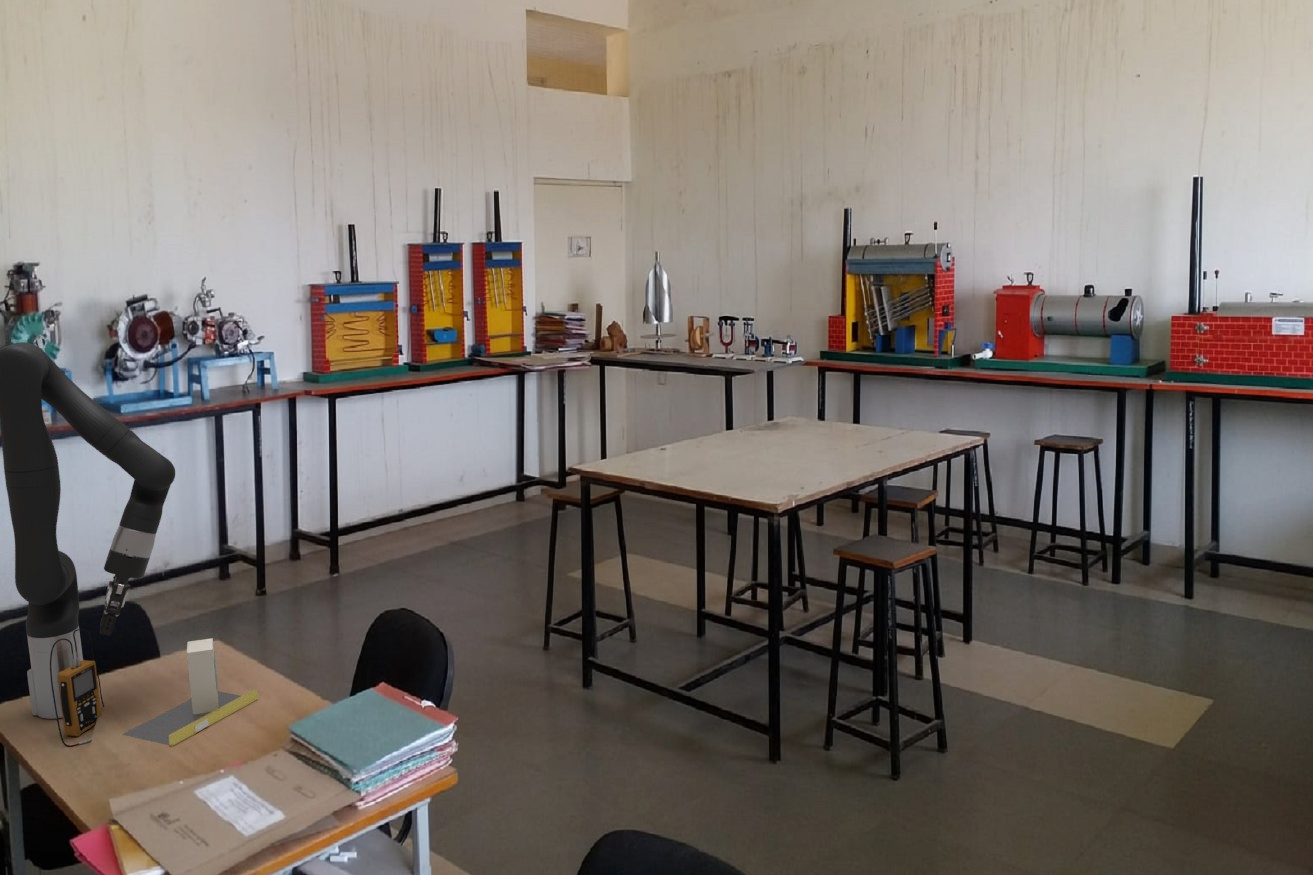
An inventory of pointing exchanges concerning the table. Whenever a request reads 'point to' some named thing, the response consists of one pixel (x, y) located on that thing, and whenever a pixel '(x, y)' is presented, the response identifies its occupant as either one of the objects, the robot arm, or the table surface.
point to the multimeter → (78, 694)
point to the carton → (202, 676)
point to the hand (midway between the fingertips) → (104, 630)
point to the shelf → (189, 719)
